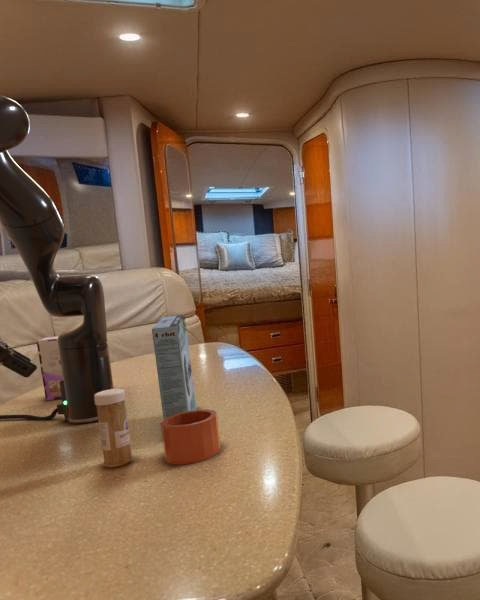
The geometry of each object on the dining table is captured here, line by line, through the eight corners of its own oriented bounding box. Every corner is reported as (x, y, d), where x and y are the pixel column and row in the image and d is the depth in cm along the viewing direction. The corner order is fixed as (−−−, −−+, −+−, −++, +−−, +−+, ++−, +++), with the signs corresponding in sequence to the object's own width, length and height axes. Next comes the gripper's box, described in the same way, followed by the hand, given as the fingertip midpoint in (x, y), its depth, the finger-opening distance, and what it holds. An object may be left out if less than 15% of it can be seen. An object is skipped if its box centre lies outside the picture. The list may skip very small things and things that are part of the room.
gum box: (191, 435, 105) (179, 325, 102) (163, 440, 103) (149, 328, 100) (197, 408, 122) (186, 314, 120) (173, 411, 120) (161, 316, 118)
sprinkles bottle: (133, 463, 92) (124, 391, 90) (103, 470, 90) (93, 397, 88) (132, 455, 96) (124, 386, 94) (103, 462, 93) (94, 391, 92)
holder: (154, 464, 91) (149, 427, 90) (185, 443, 100) (181, 409, 99) (202, 464, 90) (197, 426, 89) (229, 443, 99) (226, 409, 98)
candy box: (111, 388, 144) (104, 330, 142) (104, 393, 139) (96, 334, 137) (53, 394, 140) (45, 336, 138) (44, 401, 134) (35, 339, 132)
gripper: (-59, 289, 71) (54, 355, 80) (-58, 286, 81) (42, 345, 90) (-109, 332, 68) (14, 396, 77) (-102, 324, 78) (6, 381, 87)
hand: (29, 368), depth 83 cm, fingers open, 8 cm apart
